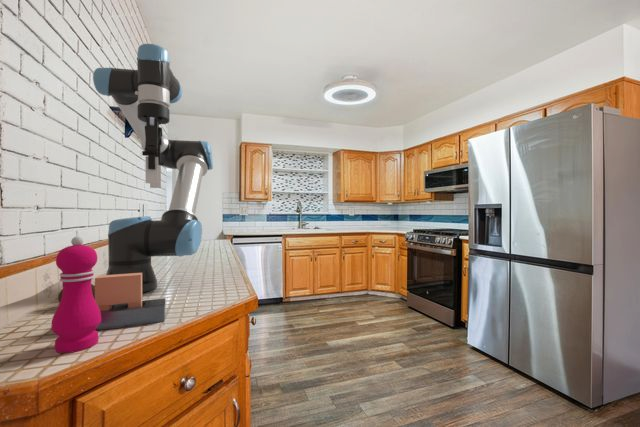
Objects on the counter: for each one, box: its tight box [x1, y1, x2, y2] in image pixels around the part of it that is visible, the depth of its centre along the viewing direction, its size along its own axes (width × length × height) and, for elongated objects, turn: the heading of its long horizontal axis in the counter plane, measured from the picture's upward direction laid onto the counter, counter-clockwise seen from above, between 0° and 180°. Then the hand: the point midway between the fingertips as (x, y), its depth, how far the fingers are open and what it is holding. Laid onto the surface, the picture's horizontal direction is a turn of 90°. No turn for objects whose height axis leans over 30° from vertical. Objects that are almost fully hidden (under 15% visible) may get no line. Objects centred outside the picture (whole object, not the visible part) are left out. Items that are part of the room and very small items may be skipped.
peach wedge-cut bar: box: [94, 273, 143, 311], centre depth 69 cm, size 3×8×10 cm, turn 115°
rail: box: [95, 297, 166, 331], centre depth 69 cm, size 7×18×4 cm, turn 115°
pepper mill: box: [50, 236, 101, 354], centre depth 57 cm, size 7×7×20 cm
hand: (153, 185), depth 82 cm, fingers open, 13 cm apart
